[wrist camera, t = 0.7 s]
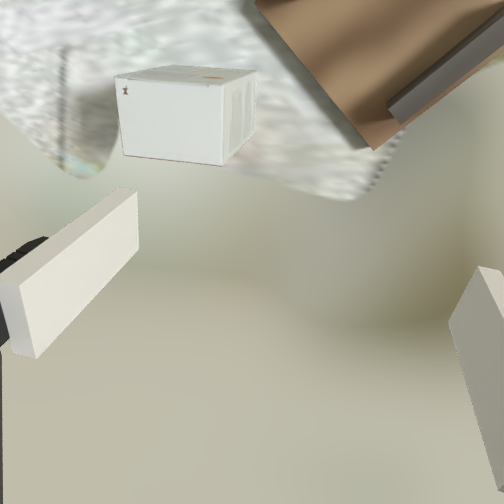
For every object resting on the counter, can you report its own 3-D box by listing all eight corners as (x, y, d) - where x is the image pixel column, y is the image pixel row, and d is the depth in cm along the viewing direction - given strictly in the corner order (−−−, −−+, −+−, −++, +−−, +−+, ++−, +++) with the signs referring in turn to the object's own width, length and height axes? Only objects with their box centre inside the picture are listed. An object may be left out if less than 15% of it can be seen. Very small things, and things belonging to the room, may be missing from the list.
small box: (175, 126, 38) (119, 157, 30) (172, 63, 36) (109, 75, 27) (256, 135, 37) (223, 169, 28) (259, 69, 34) (223, 84, 25)
